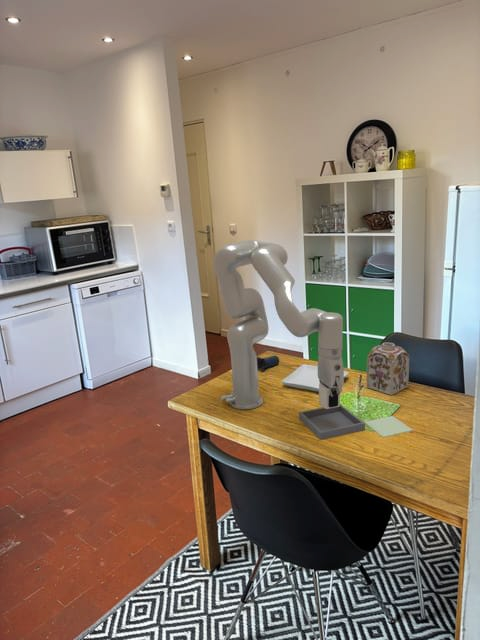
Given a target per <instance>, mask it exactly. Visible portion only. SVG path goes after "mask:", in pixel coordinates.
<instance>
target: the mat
mask: <svg viewBox="0 0 480 640" xmlns="http://www.w3.org/2000/svg"><path fill="white" fill-rule="evenodd" d="M363 422H364V423H365V425H367V426H368V427H369V428H371V429H372V430H373V431H374V432H375V433H377V434H378V435H379V436H380V437H382V438H388V437H392V436H396V435H400V434H404V433H414V430H413V429H412V428H411V427H409V426H408V425H406V424H405V423H403V422H402V421H400V420H399V419H398V418H396V417H395V416H393V415H390V416H385V417H382V418H376V419H372V420H371V419H370V420H367V421H363Z"/></svg>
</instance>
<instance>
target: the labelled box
mask: <svg viewBox="0 0 480 640" xmlns="http://www.w3.org/2000/svg"><path fill="white" fill-rule="evenodd" d="M333 386H336V385H333ZM334 390H336V388H334V389H333V391H334ZM329 396H330V390H329V387H328V386H327V385H325V384H324V383H319V392H318V404H319V405H321V406H322V407H324V408H325V409H329V408H335V407H340V404H341V402H340V401H341V393H340V394H339V396H338V406H335V407H329Z"/></svg>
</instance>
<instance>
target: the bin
mask: <svg viewBox="0 0 480 640" xmlns="http://www.w3.org/2000/svg"><path fill="white" fill-rule="evenodd" d="M298 419H299V420H300V421H301V422H302V423H303V424H304V426H306V427H307V428H308V429H309V431H311V432H312V433H313V434H314V435H315V436H316V437H317V438H318V439H319V440H320V441H323V440H327V439H331V438H335V437H341V436H344V435H349V434H354V433H359V432H362V431H365V430H366V424H365V423H364V422H365V421H363V420H362V419H360V417H358V416H357V415H355V414H354V413H353V412H351V411H350V410H349V409H348V408H346V406H344V405H343V404H342V403H340V407H335V408H329V409H325V408H324V407H323V406H322V407H317V408H314V409H313V408H312V409H307V410H301V411H299V412H298Z"/></svg>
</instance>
